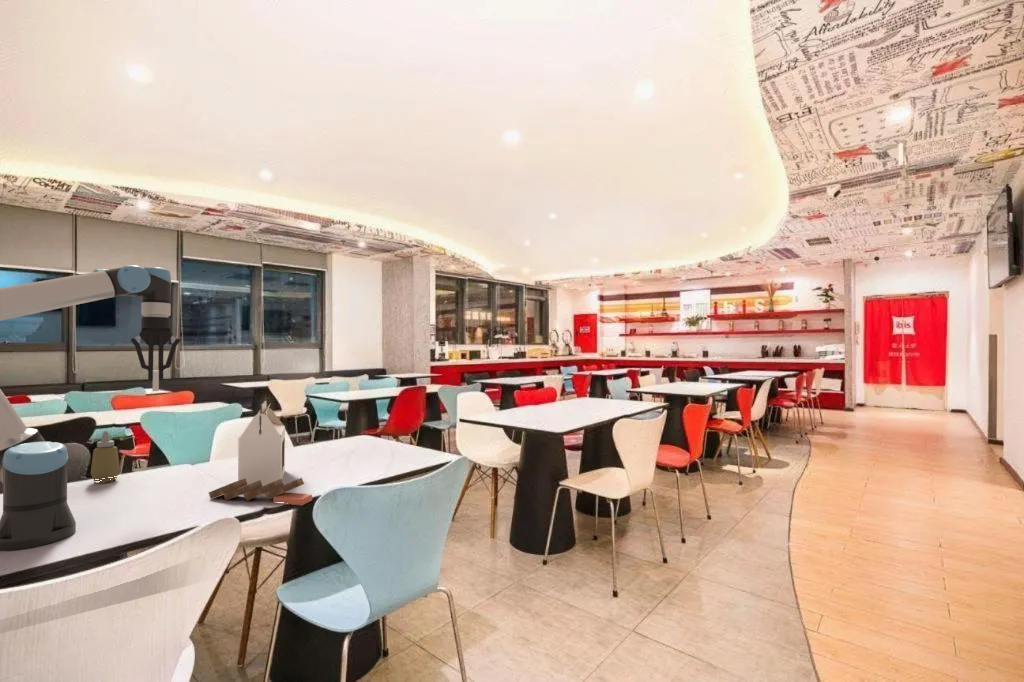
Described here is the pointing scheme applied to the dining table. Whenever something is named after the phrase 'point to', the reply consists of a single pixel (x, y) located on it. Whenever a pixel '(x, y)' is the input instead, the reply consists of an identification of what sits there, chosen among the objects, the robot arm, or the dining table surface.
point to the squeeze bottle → (105, 460)
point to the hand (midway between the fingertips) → (155, 390)
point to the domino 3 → (263, 489)
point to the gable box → (262, 448)
